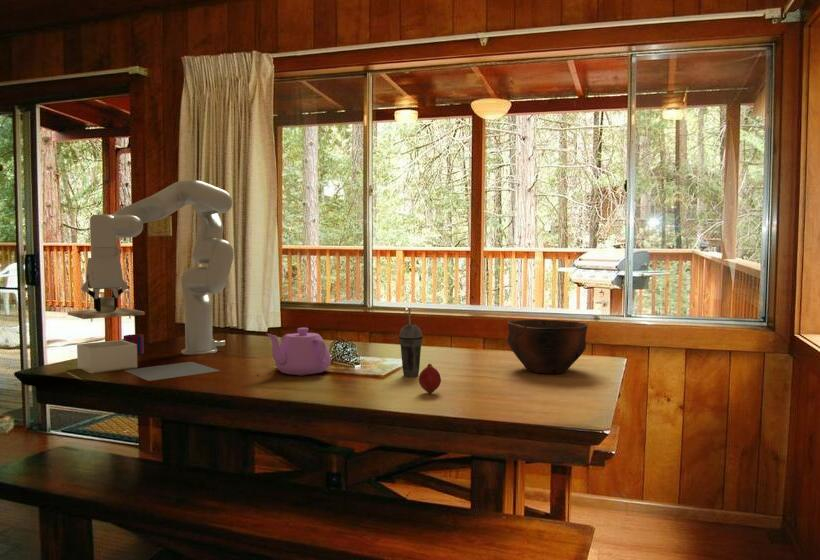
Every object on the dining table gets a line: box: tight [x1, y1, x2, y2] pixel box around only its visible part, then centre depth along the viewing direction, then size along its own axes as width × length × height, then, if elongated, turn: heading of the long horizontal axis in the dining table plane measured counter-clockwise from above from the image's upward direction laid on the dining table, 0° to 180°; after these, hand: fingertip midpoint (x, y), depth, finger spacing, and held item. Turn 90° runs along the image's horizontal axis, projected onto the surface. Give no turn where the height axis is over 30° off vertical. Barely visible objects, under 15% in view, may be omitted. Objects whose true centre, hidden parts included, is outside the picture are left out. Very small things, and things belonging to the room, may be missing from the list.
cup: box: [121, 333, 145, 356], centre depth 236 cm, size 7×10×7 cm
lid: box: [67, 296, 146, 320], centre depth 207 cm, size 18×18×6 cm
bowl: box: [506, 319, 589, 374], centre depth 201 cm, size 25×25×15 cm
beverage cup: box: [398, 309, 424, 378], centre depth 194 cm, size 7×7×20 cm
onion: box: [418, 363, 442, 394], centre depth 170 cm, size 6×6×8 cm
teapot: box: [266, 327, 332, 377], centre depth 199 cm, size 22×22×14 cm
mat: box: [122, 361, 221, 382], centre depth 202 cm, size 22×22×1 cm
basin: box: [76, 339, 138, 374], centre depth 208 cm, size 14×14×8 cm
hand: (105, 309), depth 207 cm, fingers closed on lid, 4 cm apart
